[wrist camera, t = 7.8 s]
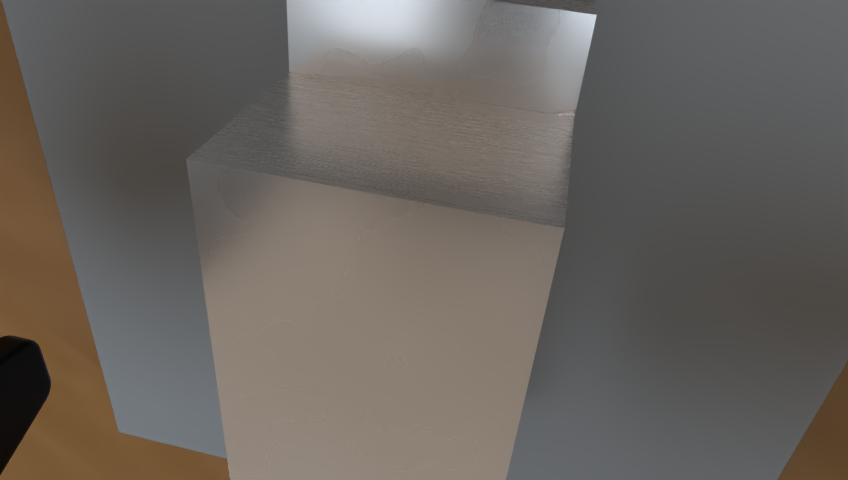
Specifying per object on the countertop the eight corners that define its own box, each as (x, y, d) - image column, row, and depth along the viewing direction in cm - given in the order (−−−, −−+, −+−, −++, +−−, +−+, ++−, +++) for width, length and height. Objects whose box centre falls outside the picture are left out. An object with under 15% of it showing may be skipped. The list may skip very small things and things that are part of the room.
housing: (500, 446, 15) (473, 620, 12) (315, 403, 16) (241, 558, 13) (597, 0, 10) (593, 99, 6) (305, -39, 10) (168, 33, 7)
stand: (702, 477, 19) (717, 579, 16) (175, 358, 21) (119, 431, 18) (1041, -212, 10) (1191, -219, 7) (56, -290, 12) (-85, -316, 9)
